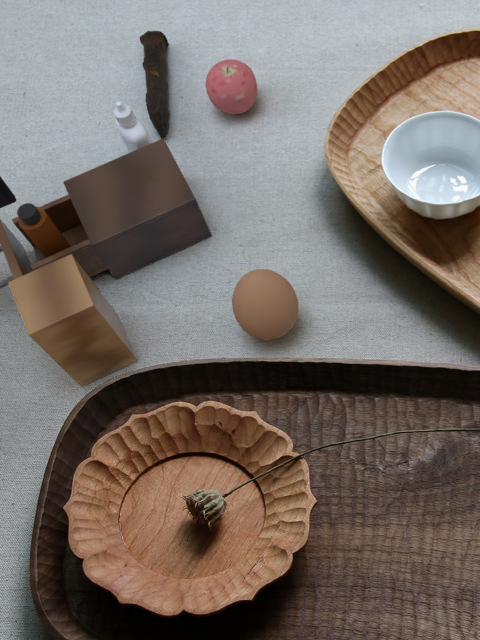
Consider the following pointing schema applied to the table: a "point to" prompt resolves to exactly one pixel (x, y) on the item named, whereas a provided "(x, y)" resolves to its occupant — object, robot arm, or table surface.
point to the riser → (72, 320)
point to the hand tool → (156, 79)
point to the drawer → (80, 248)
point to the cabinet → (137, 209)
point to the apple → (231, 86)
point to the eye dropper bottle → (130, 128)
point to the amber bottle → (41, 230)
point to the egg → (265, 304)
